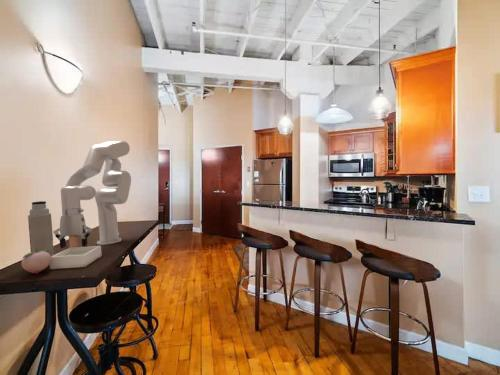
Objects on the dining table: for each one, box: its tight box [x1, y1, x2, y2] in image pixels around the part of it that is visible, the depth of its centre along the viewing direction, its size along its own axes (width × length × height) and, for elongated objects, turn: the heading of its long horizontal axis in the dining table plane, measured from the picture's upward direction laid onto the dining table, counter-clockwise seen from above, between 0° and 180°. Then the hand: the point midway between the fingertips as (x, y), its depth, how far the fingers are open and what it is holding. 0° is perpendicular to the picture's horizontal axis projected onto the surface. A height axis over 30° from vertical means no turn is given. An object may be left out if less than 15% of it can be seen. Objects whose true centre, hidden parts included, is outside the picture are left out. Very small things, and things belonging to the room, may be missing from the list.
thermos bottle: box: [27, 201, 55, 267], centre depth 116 cm, size 8×8×28 cm
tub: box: [49, 245, 103, 270], centre depth 118 cm, size 15×14×5 cm
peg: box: [68, 235, 80, 248], centre depth 128 cm, size 4×4×10 cm
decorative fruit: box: [21, 249, 51, 274], centre depth 105 cm, size 9×8×10 cm
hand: (74, 247), depth 128 cm, fingers open, 9 cm apart
